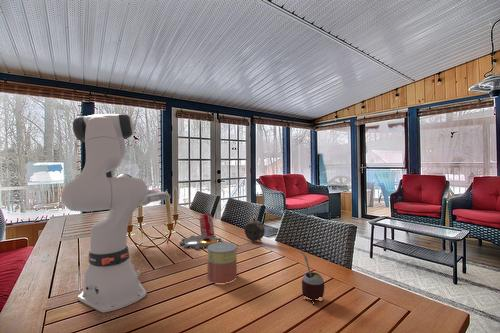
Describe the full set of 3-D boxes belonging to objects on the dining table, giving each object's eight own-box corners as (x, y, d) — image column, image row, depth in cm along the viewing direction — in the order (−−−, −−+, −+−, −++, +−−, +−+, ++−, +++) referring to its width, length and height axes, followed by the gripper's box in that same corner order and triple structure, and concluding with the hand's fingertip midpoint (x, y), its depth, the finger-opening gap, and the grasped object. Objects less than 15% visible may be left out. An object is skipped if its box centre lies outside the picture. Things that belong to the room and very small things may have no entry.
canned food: (235, 270, 104) (235, 241, 104) (238, 283, 93) (238, 251, 92) (207, 272, 102) (207, 242, 102) (207, 286, 91) (207, 253, 91)
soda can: (211, 237, 136) (209, 213, 138) (199, 239, 137) (197, 215, 139) (216, 236, 142) (213, 213, 145) (204, 238, 144) (201, 215, 146)
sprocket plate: (230, 242, 139) (230, 239, 139) (196, 253, 122) (196, 250, 122) (204, 234, 154) (204, 231, 154) (171, 243, 137) (171, 240, 137)
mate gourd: (325, 307, 78) (325, 258, 78) (299, 304, 79) (299, 257, 79) (322, 294, 85) (323, 250, 85) (298, 292, 87) (299, 248, 86)
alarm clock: (265, 242, 139) (265, 213, 138) (260, 245, 134) (260, 215, 134) (248, 239, 144) (248, 211, 144) (242, 241, 140) (242, 212, 140)
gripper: (127, 193, 126) (151, 194, 122) (154, 189, 146) (175, 190, 142) (128, 206, 127) (151, 207, 122) (154, 200, 146) (175, 201, 142)
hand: (164, 198), depth 132 cm, fingers open, 8 cm apart
